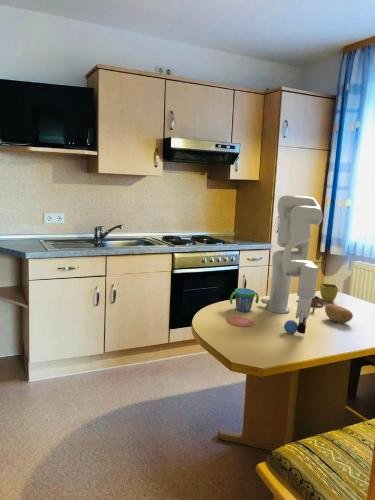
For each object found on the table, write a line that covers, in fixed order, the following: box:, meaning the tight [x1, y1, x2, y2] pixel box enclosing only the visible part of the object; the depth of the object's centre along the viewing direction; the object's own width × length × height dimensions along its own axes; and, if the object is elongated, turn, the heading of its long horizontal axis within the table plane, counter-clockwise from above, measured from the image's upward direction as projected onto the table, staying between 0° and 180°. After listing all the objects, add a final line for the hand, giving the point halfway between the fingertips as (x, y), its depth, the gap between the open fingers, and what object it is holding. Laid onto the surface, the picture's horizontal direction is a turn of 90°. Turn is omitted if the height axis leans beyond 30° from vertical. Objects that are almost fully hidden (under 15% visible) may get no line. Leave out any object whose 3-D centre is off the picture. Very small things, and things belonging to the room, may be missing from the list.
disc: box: [225, 316, 255, 328], centre depth 193 cm, size 13×13×1 cm
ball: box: [283, 319, 298, 335], centre depth 182 cm, size 6×6×6 cm
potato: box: [324, 303, 354, 324], centre depth 202 cm, size 10×14×8 cm
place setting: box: [296, 295, 324, 313], centre depth 226 cm, size 18×20×6 cm
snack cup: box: [229, 287, 260, 313], centre depth 209 cm, size 16×10×10 cm
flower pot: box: [319, 282, 339, 303], centre depth 238 cm, size 9×9×9 cm
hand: (301, 332), depth 181 cm, fingers closed
